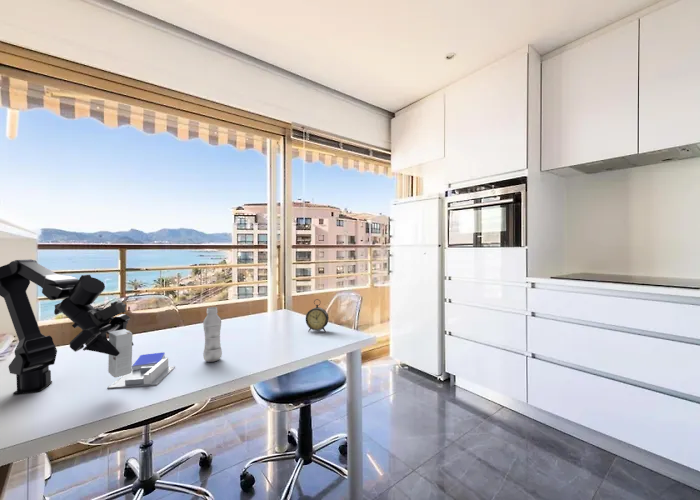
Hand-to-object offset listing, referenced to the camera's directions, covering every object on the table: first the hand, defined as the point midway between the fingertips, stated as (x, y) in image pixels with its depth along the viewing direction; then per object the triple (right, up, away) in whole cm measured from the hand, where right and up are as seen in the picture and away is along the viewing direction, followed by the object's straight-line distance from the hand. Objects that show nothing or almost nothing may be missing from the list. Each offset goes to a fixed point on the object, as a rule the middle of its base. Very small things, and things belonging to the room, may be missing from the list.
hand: (125, 350), depth 91 cm
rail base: (-2, -13, +11) cm, 17 cm away
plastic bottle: (+14, -13, +26) cm, 32 cm away
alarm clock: (+50, -11, +64) cm, 82 cm away
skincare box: (-1, -7, 0) cm, 7 cm away
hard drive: (-8, -12, +24) cm, 28 cm away
